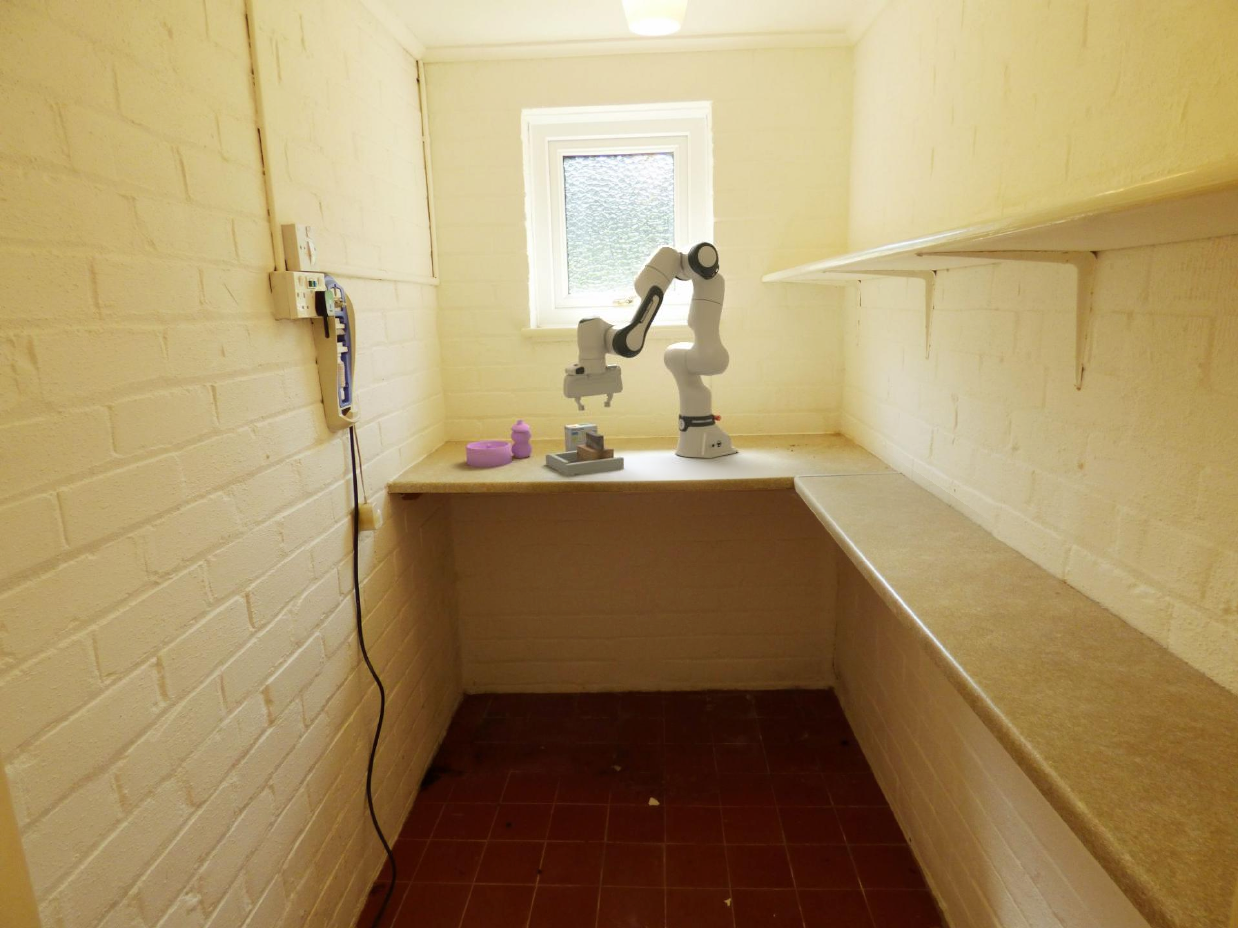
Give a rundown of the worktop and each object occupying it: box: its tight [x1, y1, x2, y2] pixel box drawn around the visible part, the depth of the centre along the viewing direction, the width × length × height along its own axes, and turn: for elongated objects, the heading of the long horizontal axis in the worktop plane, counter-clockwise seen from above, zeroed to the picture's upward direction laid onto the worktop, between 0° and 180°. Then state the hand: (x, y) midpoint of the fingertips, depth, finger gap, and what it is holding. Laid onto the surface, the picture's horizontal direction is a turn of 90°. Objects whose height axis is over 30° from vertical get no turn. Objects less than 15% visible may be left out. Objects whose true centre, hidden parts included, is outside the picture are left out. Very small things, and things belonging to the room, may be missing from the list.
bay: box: [545, 451, 625, 477], centre depth 240 cm, size 20×19×4 cm
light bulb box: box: [563, 422, 599, 452], centre depth 258 cm, size 11×7×11 cm, turn 115°
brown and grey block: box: [576, 432, 615, 463], centre depth 241 cm, size 8×12×10 cm, turn 27°
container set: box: [465, 419, 533, 468], centre depth 251 cm, size 25×15×13 cm, turn 132°
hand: (594, 408), depth 238 cm, fingers open, 8 cm apart
